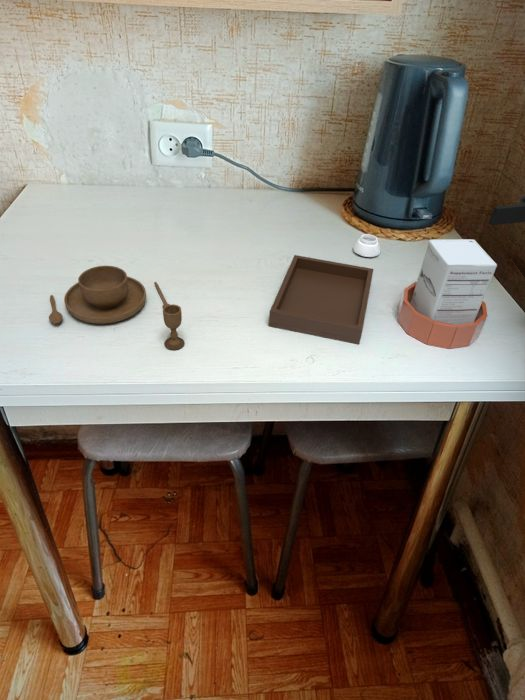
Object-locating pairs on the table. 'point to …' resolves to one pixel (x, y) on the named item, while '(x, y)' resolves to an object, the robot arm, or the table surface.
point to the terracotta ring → (438, 325)
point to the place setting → (114, 301)
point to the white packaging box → (453, 281)
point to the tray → (322, 299)
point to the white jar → (367, 246)
